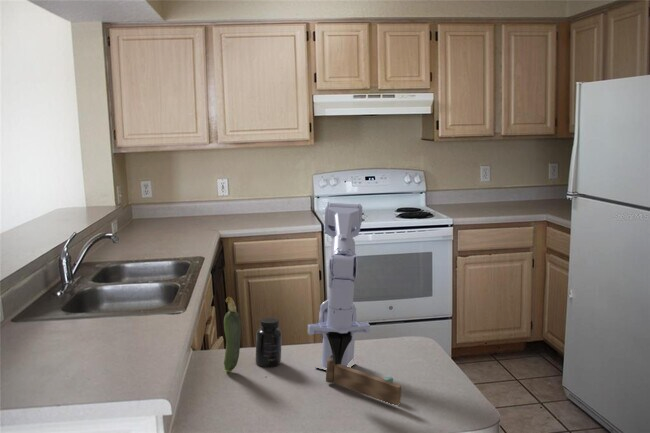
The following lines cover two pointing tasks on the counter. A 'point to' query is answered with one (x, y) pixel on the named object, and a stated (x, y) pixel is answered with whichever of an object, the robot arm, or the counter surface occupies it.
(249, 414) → the counter surface
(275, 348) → the supplement bottle
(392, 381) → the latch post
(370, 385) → the wooden plank
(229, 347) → the vegetable
